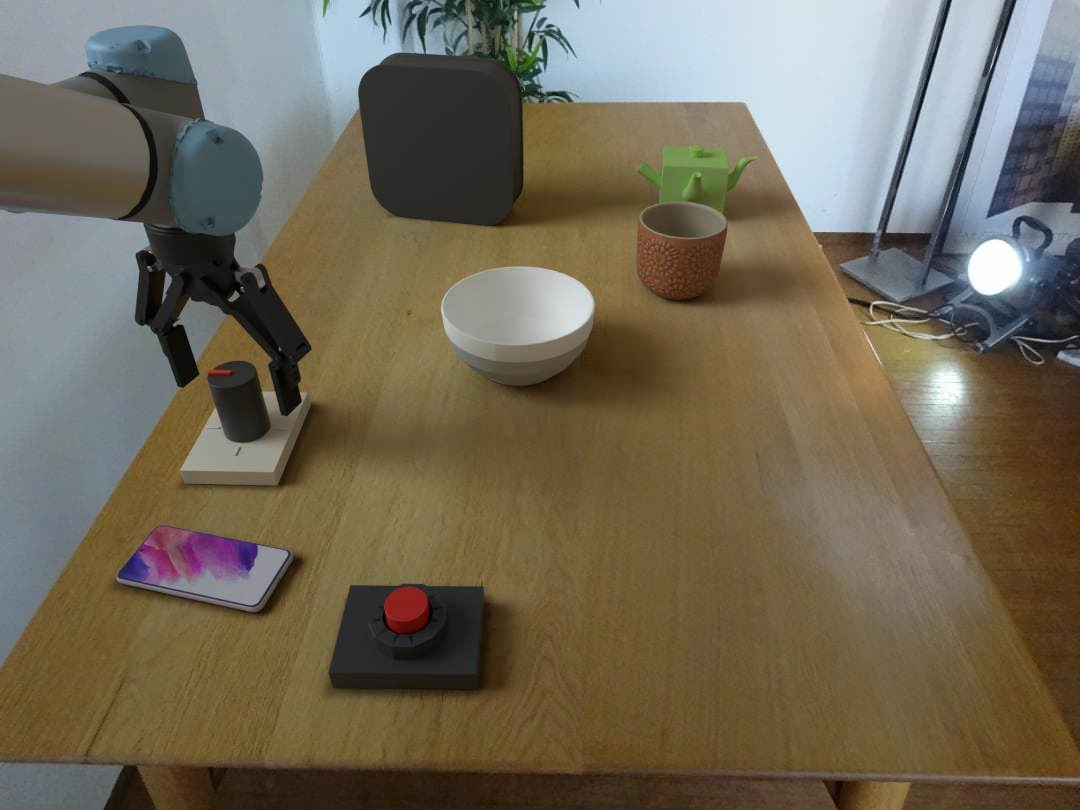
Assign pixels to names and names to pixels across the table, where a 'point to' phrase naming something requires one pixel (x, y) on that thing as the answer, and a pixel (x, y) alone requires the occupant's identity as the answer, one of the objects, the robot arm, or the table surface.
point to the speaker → (443, 136)
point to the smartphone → (206, 567)
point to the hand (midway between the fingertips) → (239, 394)
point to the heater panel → (245, 450)
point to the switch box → (410, 641)
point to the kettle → (695, 175)
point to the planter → (680, 248)
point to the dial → (239, 401)
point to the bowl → (518, 323)
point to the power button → (407, 610)
